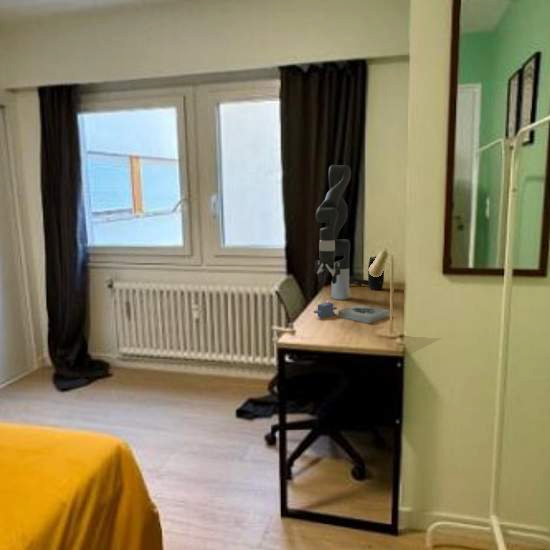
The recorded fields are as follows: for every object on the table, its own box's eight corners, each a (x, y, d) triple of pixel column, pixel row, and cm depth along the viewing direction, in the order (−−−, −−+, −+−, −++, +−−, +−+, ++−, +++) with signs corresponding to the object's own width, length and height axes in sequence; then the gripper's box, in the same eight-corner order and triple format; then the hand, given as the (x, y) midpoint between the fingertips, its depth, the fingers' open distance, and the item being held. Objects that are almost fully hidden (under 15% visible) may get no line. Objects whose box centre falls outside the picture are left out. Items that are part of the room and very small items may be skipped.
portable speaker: (385, 290, 300) (386, 258, 296) (370, 290, 299) (370, 258, 296) (381, 287, 308) (381, 255, 305) (366, 287, 308) (366, 256, 304)
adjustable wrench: (374, 294, 311) (335, 285, 315) (374, 293, 314) (335, 284, 317) (378, 281, 309) (338, 272, 313) (377, 280, 312) (338, 272, 315)
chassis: (338, 316, 244) (338, 310, 244) (358, 310, 256) (358, 304, 256) (369, 323, 232) (369, 317, 231) (389, 316, 244) (389, 310, 243)
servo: (313, 317, 244) (313, 303, 242) (330, 312, 253) (330, 299, 251) (320, 319, 241) (320, 305, 240) (336, 313, 250) (336, 300, 249)
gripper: (343, 249, 238) (343, 283, 241) (320, 247, 248) (320, 279, 251) (334, 251, 233) (334, 285, 236) (310, 249, 243) (310, 281, 246)
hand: (327, 282), depth 243 cm, fingers open, 8 cm apart
